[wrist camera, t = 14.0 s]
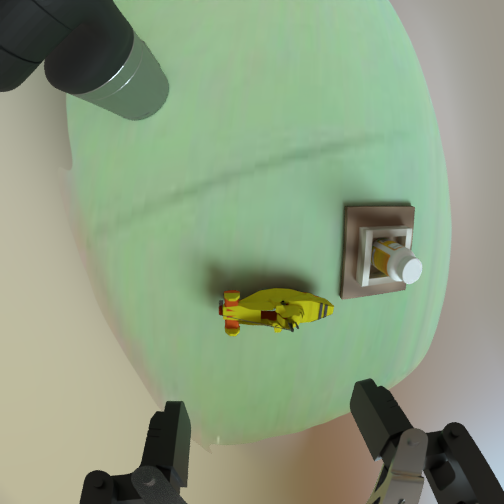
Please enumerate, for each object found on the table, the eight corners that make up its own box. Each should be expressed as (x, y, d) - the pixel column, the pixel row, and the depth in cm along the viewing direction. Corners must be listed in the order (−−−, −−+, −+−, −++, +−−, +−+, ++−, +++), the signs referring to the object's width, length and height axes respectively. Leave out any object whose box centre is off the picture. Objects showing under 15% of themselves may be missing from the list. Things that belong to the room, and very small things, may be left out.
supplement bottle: (378, 272, 44) (408, 295, 35) (362, 253, 43) (392, 273, 34) (397, 251, 44) (430, 269, 34) (382, 230, 42) (416, 245, 33)
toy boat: (218, 282, 43) (217, 312, 34) (326, 279, 45) (349, 307, 36) (220, 316, 45) (219, 352, 36) (322, 312, 47) (342, 344, 37)
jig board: (344, 206, 41) (354, 209, 38) (411, 206, 42) (423, 209, 39) (340, 297, 46) (347, 306, 43) (402, 287, 47) (412, 295, 44)
